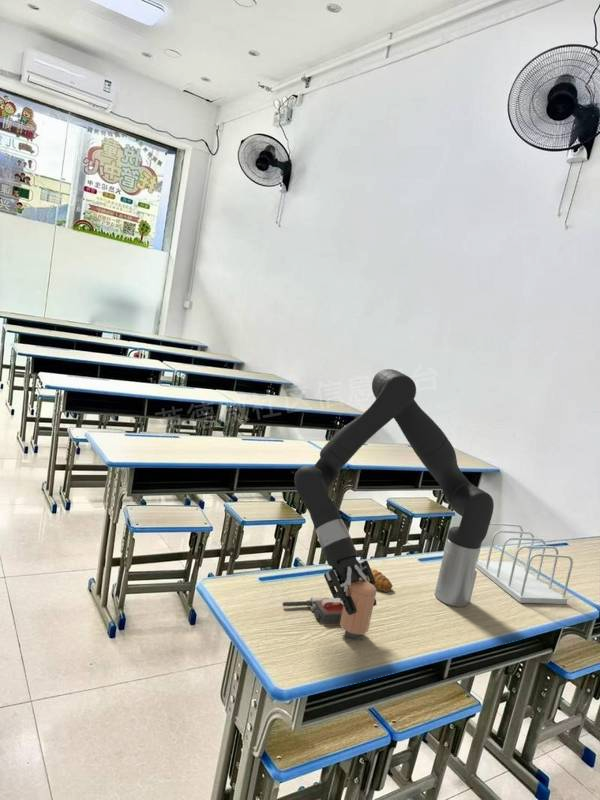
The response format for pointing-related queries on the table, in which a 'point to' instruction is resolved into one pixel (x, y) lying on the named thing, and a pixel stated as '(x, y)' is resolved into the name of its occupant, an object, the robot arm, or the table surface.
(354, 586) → the cup
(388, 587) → the pastry
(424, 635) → the table surface
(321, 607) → the walkie-talkie
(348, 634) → the gray rounded pebble
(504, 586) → the file sorter
